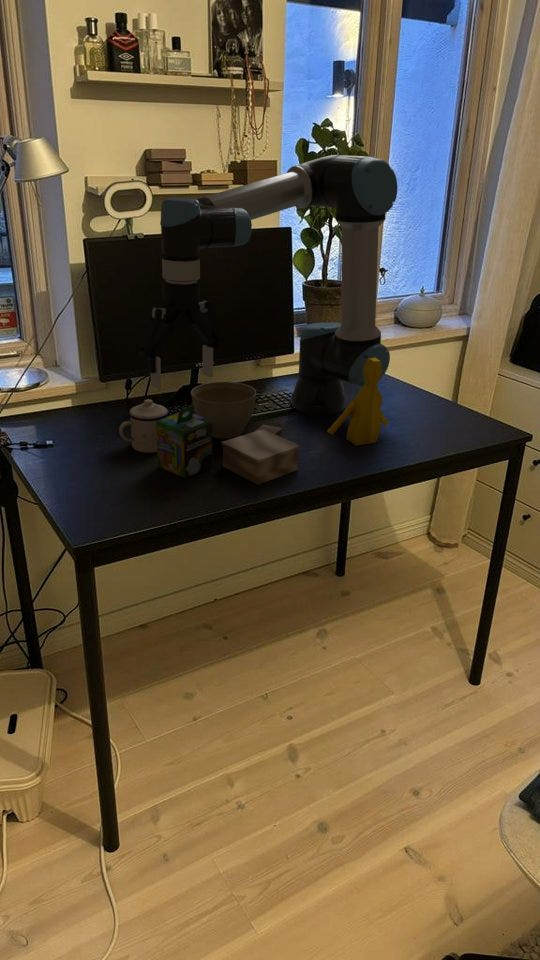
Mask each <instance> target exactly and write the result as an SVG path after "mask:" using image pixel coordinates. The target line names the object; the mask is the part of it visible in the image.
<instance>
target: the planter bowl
mask: <svg viewBox="0 0 540 960" xmlns="http://www.w3.org/2000/svg"><path fill="white" fill-rule="evenodd" d="M190 396H191V399H192V401H191V402H192V405H194V411H193V413H194V414H196V415H199V416H201V417H204V418H207V419H209V420H212V438H215V439H233V438H236V437H239V436H242V435H243V433H244V432H243V431H244V428H245V427H246V426H247V425H248V424H249V421H250V420H251V418H252V415H253V414H254V409H255V404H256V397H257V390H256V389H255V388H254V387H253V386H250V385H247V384H245V383H240V382H235V381H234V382H233V381H212V382H206V383H203V384H200V385H197V386H195V387H193V388H192V389H191V391H190Z"/></svg>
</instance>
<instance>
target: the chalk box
mask: <svg viewBox="0 0 540 960" xmlns="http://www.w3.org/2000/svg"><path fill="white" fill-rule="evenodd" d="M156 430H157V451H158V452H157V467H158V468H160V469H162V470H165V471H167V472H170V473H171V474H173V475H176V476H179V477H181V478H183V479H187V478H190V477H191V476H194V475H196V474H199V473H200V472H203V471H205V470H207V469H210V468H212V467H213V437H212V420H209V419H207V418H204V417H201V416H199V415H196V414H195V413H194V405H193V404H192V405H189V406H186V407H184V408H181V409H180V410H179V412H176V413H173V414H171V415H167V417H165V418H163V419H161V420H158V421H157V422H156Z"/></svg>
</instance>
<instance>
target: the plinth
mask: <svg viewBox="0 0 540 960" xmlns="http://www.w3.org/2000/svg"><path fill="white" fill-rule="evenodd" d="M220 445H221V446H222V457H223V458H222V467H223V468H226V469H227V470H229V471H231V472H233V473H235V474H236V475H239V476H241V477H242V478H244V479H245V480H246V479H247V480H248V481H250V482H252V483H254V484H255V485H261V484H263V483H266V482H269V481H272V480H274V479H277V478H280V477H283V476H285V475H288V474H291V473H293V472H297V471H298V466H299V465H298V464H299V450H300V449H301V447H302V446H301V445H299V444H298V443H295V442H292V441H290V440H288V439H287V438H284V437H283V436H282V437H280V436H277V435H275V434H273V433H271V432H268V431H266V430H264V429H262V430H259V431H256V432H254V431H253V432H249V433H246V434H241V435H239V436H237V437H234V438H228V439H226V440H224V441H221V443H220Z"/></svg>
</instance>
